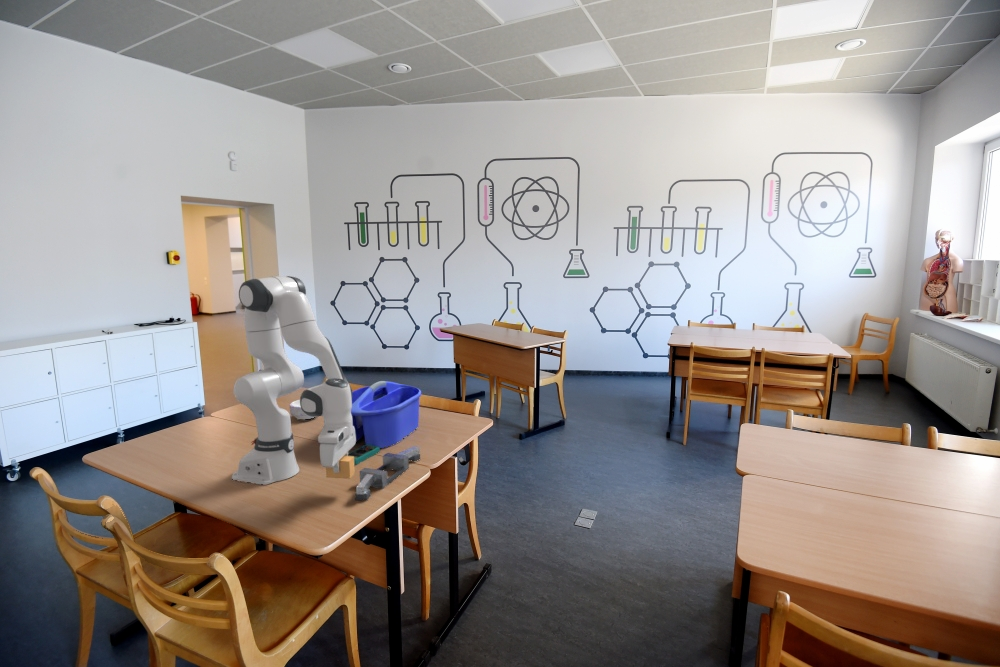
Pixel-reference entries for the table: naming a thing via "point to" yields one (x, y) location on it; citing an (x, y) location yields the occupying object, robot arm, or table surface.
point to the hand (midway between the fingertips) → (340, 468)
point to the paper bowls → (298, 410)
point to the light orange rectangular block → (342, 468)
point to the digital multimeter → (363, 453)
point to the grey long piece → (379, 476)
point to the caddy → (385, 412)
